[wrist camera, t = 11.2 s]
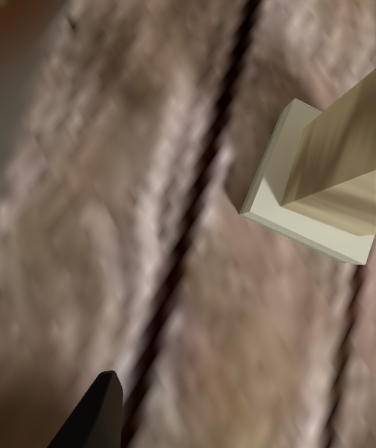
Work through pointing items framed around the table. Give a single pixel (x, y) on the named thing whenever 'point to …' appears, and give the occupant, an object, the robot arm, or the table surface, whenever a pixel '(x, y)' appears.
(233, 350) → the table surface
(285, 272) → the table surface
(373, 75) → the beige rectangular block
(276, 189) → the top slab
